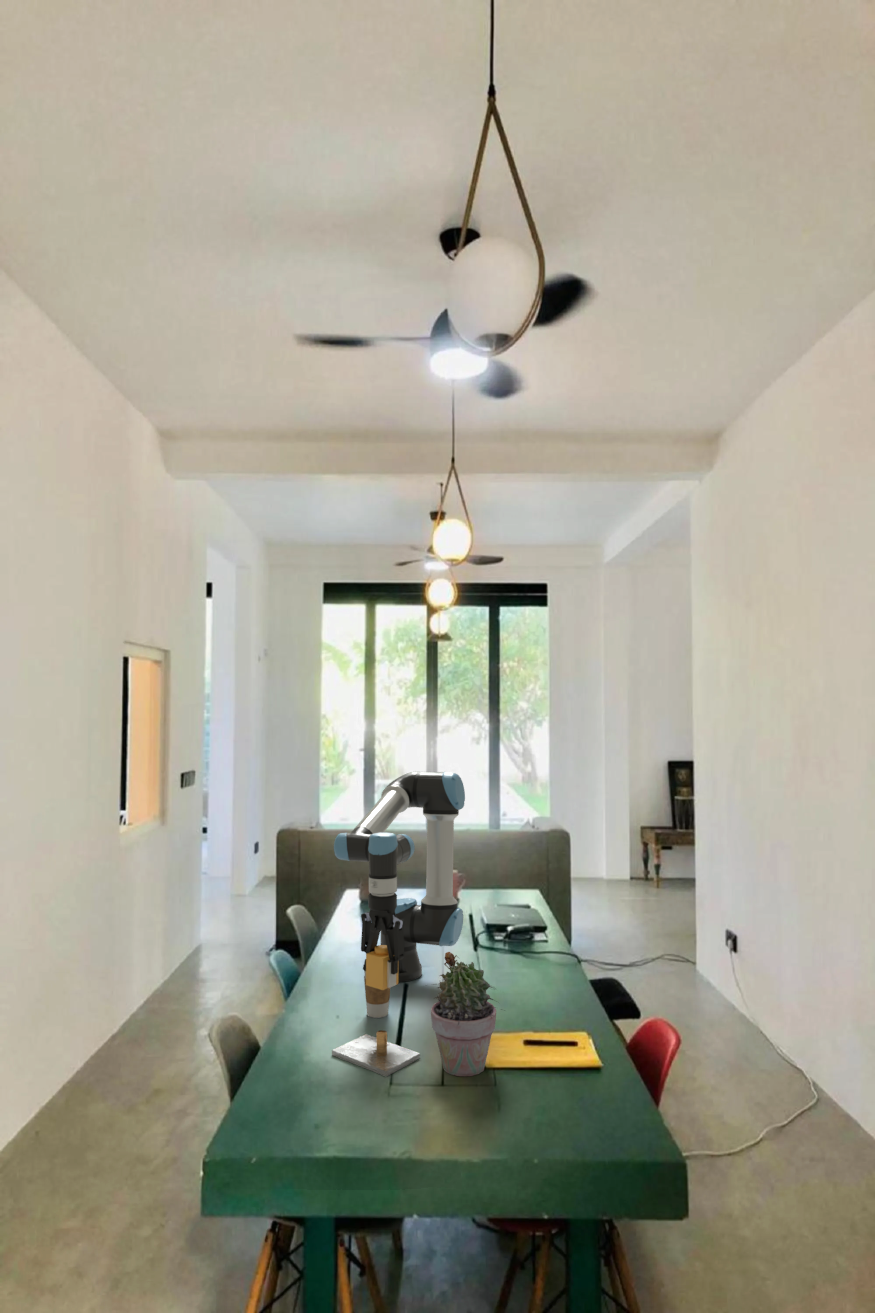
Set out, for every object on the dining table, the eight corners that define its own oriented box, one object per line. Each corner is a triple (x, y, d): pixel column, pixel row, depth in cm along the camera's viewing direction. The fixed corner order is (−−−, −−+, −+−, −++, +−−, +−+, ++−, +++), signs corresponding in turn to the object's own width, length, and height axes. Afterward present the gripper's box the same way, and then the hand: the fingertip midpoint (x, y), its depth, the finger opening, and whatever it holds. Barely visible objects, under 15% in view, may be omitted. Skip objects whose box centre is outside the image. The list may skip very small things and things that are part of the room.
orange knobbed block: (365, 985, 197) (366, 947, 198) (381, 979, 202) (381, 942, 202) (382, 990, 193) (383, 952, 194) (398, 984, 198) (398, 946, 199)
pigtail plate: (331, 1055, 184) (332, 1029, 185) (366, 1039, 194) (366, 1014, 194) (386, 1077, 173) (386, 1048, 174) (419, 1058, 183) (419, 1032, 183)
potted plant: (485, 1095, 165) (484, 977, 167) (411, 1073, 175) (411, 962, 177) (521, 1063, 180) (520, 956, 182) (451, 1044, 190) (450, 943, 192)
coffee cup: (369, 1022, 205) (369, 965, 206) (357, 1011, 212) (358, 956, 213) (397, 1016, 208) (397, 960, 210) (385, 1006, 216) (385, 952, 217)
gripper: (347, 890, 202) (346, 979, 200) (400, 901, 191) (399, 995, 189) (366, 885, 208) (366, 972, 206) (419, 895, 196) (419, 987, 194)
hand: (382, 983), depth 197 cm, fingers closed on orange knobbed block, 6 cm apart
